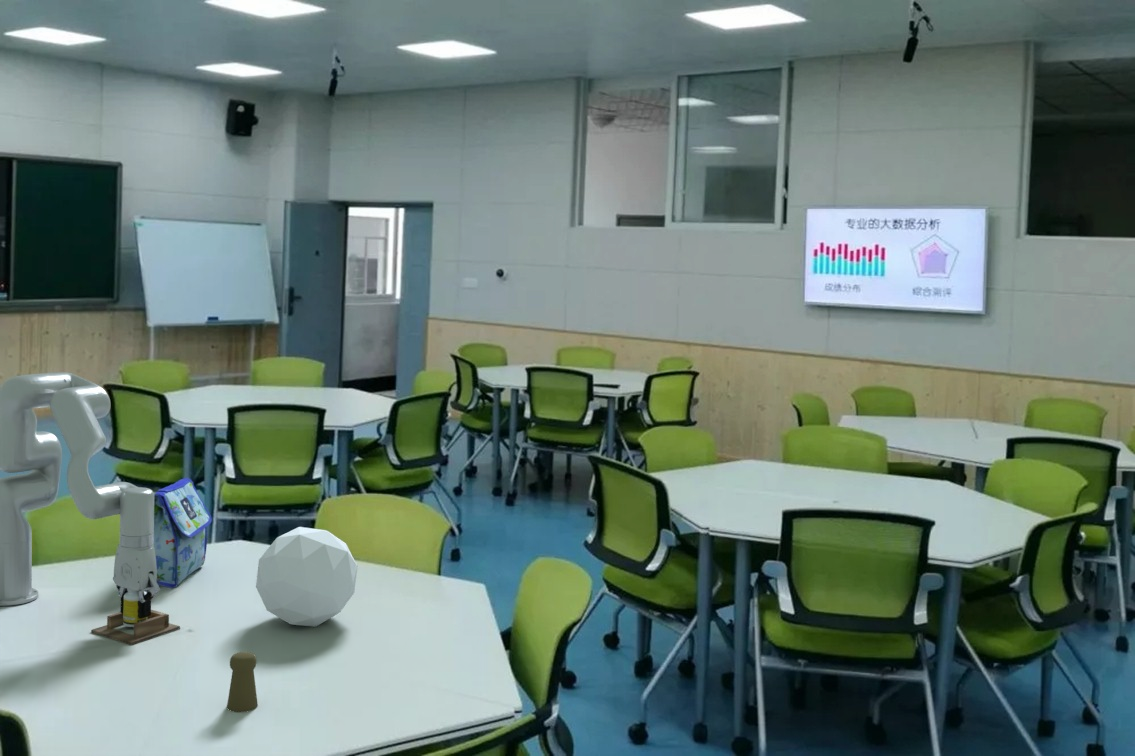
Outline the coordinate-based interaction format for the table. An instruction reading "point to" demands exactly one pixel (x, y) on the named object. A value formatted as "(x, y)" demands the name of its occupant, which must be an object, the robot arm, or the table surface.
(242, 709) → the olive game pawn
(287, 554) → the geometric polyhedron
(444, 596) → the table surface
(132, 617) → the supplement bottle
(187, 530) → the lunch bag
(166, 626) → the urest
